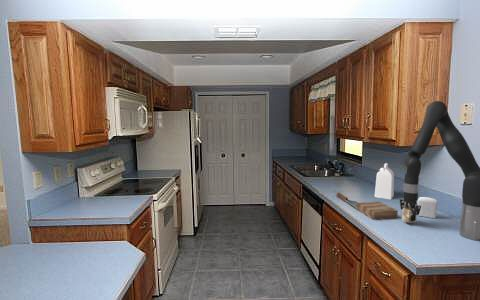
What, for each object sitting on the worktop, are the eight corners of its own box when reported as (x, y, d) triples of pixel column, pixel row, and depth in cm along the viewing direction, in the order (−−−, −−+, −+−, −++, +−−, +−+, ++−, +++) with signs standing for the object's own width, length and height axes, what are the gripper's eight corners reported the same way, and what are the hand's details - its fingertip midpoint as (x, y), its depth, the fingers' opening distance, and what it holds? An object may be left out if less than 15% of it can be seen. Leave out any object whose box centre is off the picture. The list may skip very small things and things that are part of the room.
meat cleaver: (372, 210, 186) (373, 205, 185) (356, 211, 185) (356, 205, 184) (349, 196, 219) (349, 191, 219) (335, 197, 218) (335, 192, 218)
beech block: (416, 222, 161) (416, 210, 160) (408, 222, 160) (409, 210, 159) (409, 219, 165) (410, 207, 165) (402, 219, 165) (402, 208, 164)
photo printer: (435, 216, 173) (437, 197, 172) (436, 219, 170) (438, 199, 168) (416, 214, 178) (417, 195, 177) (416, 216, 175) (417, 197, 173)
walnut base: (397, 218, 171) (397, 210, 170) (373, 219, 169) (373, 211, 168) (378, 208, 189) (378, 201, 188) (356, 209, 186) (357, 202, 186)
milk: (390, 199, 209) (393, 165, 206) (374, 196, 216) (376, 164, 213) (393, 195, 219) (395, 163, 216) (377, 193, 226) (379, 161, 223)
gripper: (426, 193, 154) (424, 223, 156) (407, 187, 168) (405, 214, 170) (414, 194, 153) (412, 224, 155) (396, 188, 167) (394, 215, 169)
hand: (409, 219), depth 163 cm, fingers closed on beech block, 5 cm apart
